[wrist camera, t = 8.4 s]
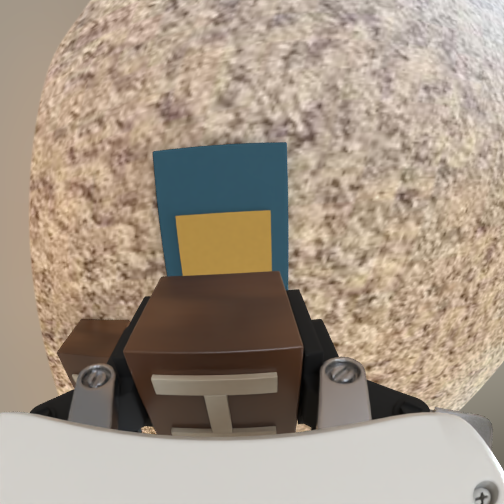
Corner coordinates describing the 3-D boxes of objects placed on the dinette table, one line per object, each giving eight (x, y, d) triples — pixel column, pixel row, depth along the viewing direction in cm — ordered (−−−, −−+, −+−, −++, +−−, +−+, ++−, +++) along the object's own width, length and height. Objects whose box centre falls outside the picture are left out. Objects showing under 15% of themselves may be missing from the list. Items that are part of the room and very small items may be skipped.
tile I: (97, 361, 22) (78, 398, 17) (81, 318, 20) (55, 354, 16) (143, 364, 22) (128, 405, 17) (129, 319, 20) (108, 359, 16)
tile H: (179, 365, 12) (161, 451, 8) (161, 275, 11) (119, 356, 6) (279, 361, 13) (295, 449, 8) (279, 270, 11) (306, 351, 6)
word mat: (200, 421, 25) (200, 425, 24) (154, 151, 17) (152, 151, 16) (283, 417, 25) (283, 421, 25) (285, 142, 17) (286, 142, 16)
